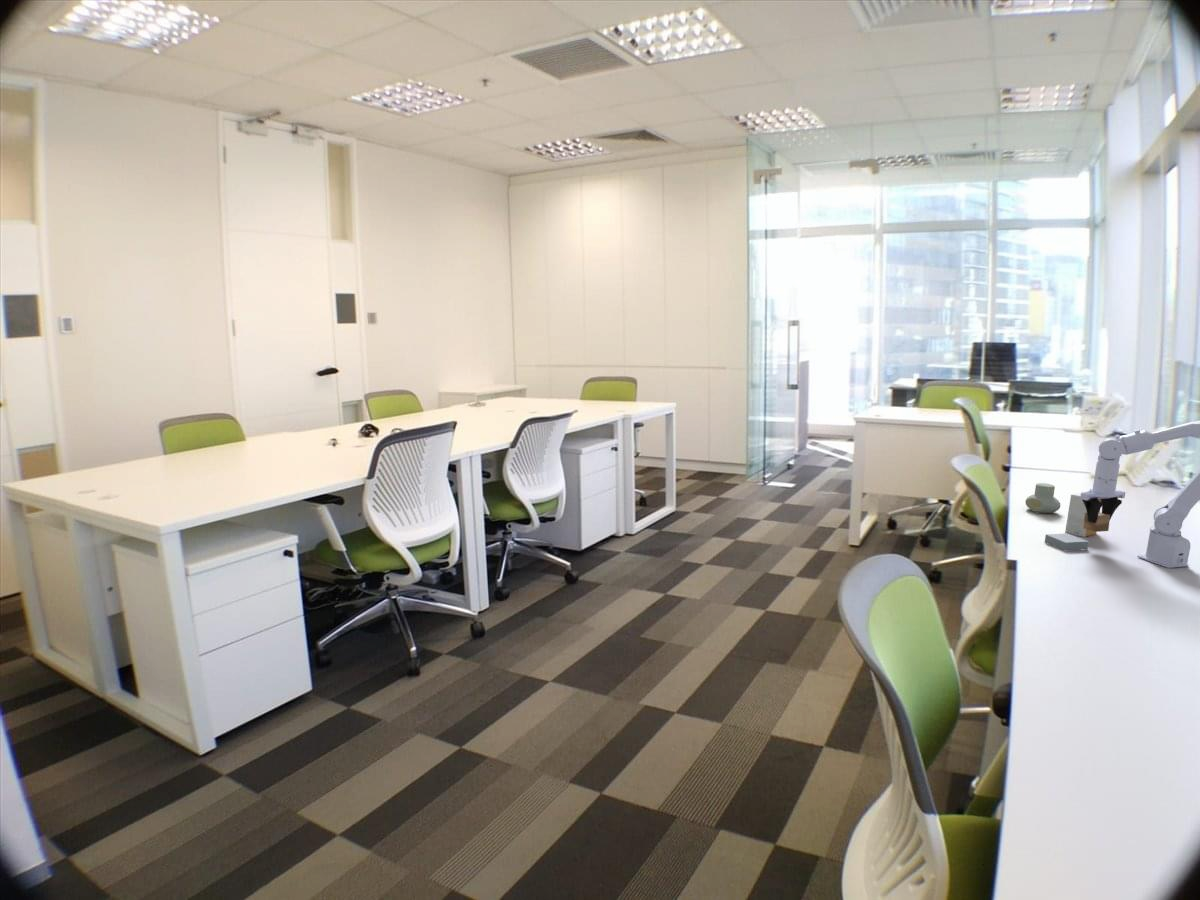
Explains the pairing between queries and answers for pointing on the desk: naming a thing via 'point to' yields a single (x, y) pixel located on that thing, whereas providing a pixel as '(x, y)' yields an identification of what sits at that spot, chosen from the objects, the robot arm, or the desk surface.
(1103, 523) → the walnut block
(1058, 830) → the desk surface
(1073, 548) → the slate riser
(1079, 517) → the small box
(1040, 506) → the air freshener
